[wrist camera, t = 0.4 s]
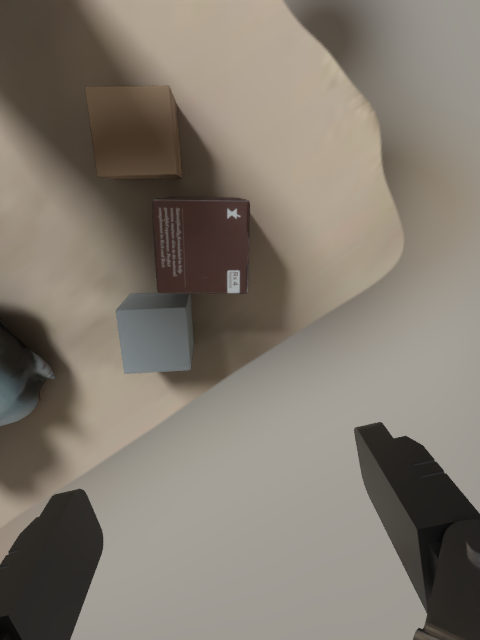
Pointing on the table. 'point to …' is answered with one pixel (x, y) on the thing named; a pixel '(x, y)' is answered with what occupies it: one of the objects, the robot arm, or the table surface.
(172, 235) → the box
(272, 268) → the table surface
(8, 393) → the grey-blue rounded figure
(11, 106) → the table surface
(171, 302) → the grey block
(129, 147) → the walnut block
